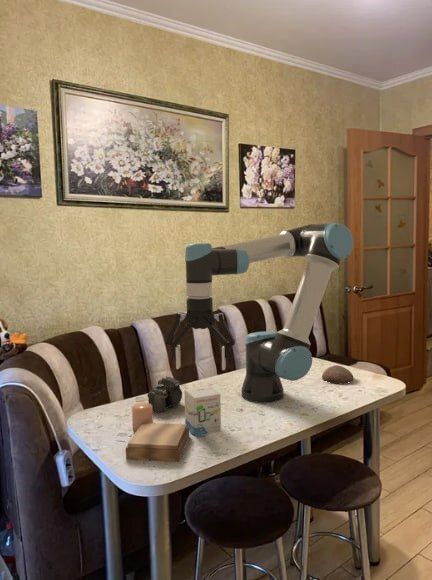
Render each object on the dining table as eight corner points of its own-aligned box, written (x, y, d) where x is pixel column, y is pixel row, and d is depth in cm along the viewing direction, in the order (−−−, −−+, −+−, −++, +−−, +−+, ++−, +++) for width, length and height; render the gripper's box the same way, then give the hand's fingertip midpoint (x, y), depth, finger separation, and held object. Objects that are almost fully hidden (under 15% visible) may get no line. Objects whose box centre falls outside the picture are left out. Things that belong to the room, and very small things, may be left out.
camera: (175, 415, 142) (174, 385, 140) (146, 413, 144) (144, 383, 142) (186, 400, 154) (185, 372, 153) (159, 398, 157) (158, 371, 155)
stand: (189, 436, 126) (188, 423, 125) (178, 461, 112) (178, 446, 111) (142, 434, 127) (141, 421, 127) (126, 458, 114) (125, 444, 113)
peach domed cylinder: (155, 425, 134) (154, 403, 133) (149, 433, 128) (149, 411, 127) (136, 424, 135) (135, 402, 134) (130, 432, 129) (129, 410, 128)
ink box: (194, 437, 126) (193, 398, 124) (184, 425, 133) (183, 388, 132) (221, 431, 129) (221, 393, 128) (210, 420, 137) (209, 384, 135)
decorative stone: (327, 373, 182) (327, 360, 181) (356, 378, 175) (356, 364, 175) (317, 382, 172) (318, 368, 171) (348, 386, 165) (349, 372, 165)
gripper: (243, 295, 128) (244, 365, 131) (160, 295, 132) (163, 363, 134) (241, 298, 121) (242, 373, 124) (154, 298, 124) (156, 370, 127)
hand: (201, 368), depth 129 cm, fingers open, 13 cm apart
